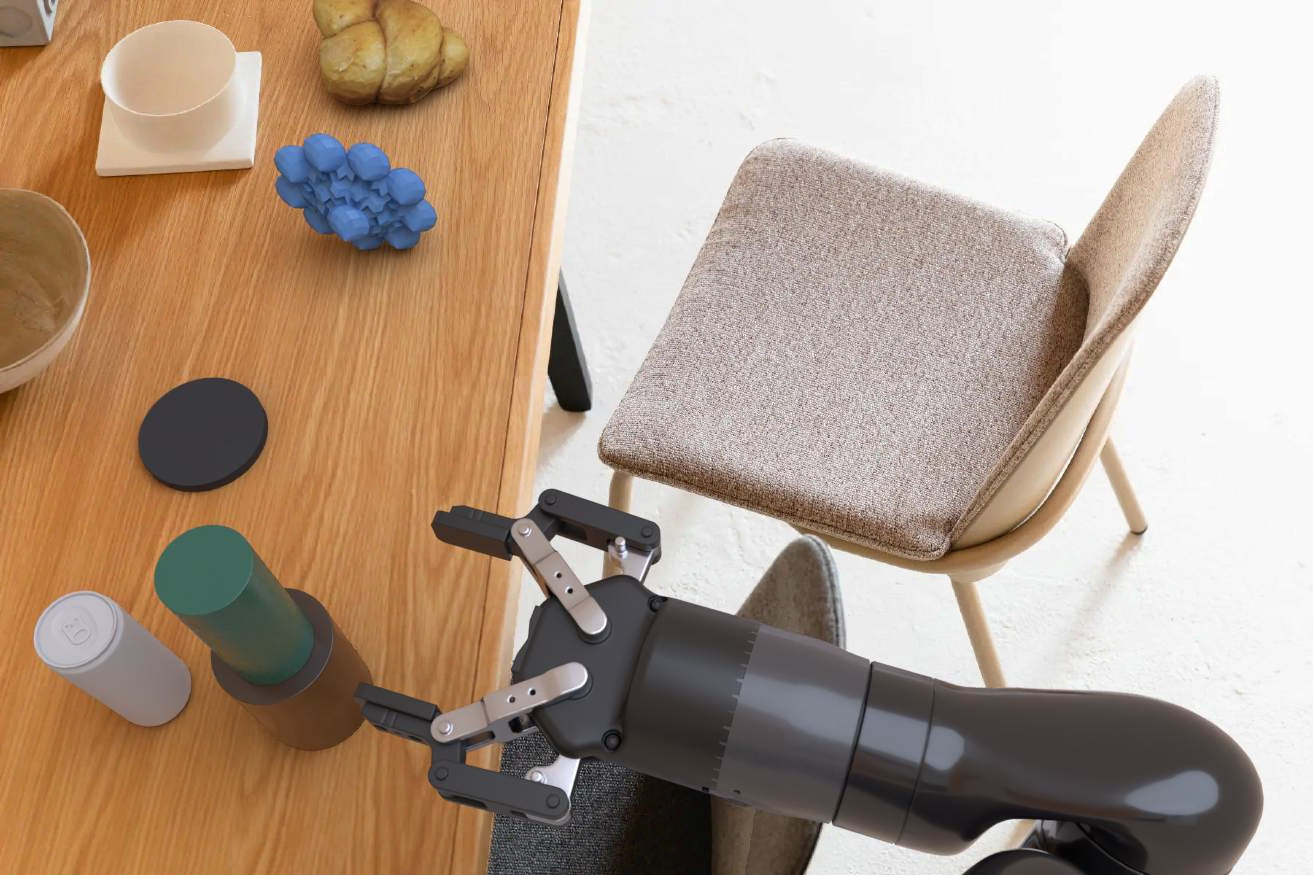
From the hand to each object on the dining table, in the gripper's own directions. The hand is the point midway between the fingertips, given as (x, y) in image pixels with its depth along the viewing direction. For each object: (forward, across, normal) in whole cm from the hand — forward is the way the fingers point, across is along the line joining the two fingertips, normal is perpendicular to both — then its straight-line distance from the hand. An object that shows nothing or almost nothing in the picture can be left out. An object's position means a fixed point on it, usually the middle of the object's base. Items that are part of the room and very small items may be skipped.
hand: (399, 607), depth 53 cm
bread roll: (+28, -52, +24) cm, 64 cm away
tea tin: (+11, 0, +14) cm, 18 cm away
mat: (+27, -15, +24) cm, 39 cm away
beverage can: (+21, +3, +24) cm, 32 cm away
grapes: (+23, -34, +24) cm, 47 cm away
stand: (+11, 0, +24) cm, 26 cm away
